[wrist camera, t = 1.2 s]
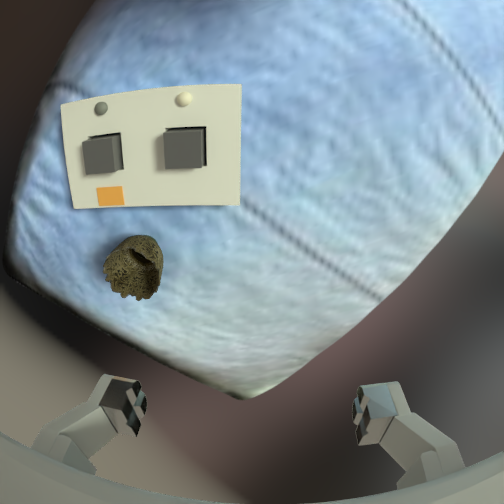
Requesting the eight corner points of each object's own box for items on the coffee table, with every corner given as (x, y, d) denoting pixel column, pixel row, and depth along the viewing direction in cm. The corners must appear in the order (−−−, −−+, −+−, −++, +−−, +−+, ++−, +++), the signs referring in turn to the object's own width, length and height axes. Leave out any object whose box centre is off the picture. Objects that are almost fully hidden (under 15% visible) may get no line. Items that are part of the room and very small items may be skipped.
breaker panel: (72, 102, 30) (58, 105, 27) (241, 84, 30) (241, 83, 28) (84, 200, 37) (72, 210, 34) (240, 196, 37) (239, 206, 35)
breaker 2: (170, 129, 31) (163, 133, 28) (204, 127, 31) (200, 131, 29) (171, 162, 33) (165, 169, 30) (205, 161, 33) (201, 168, 31)
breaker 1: (94, 137, 31) (81, 142, 28) (122, 133, 31) (111, 137, 28) (97, 167, 33) (85, 174, 30) (125, 165, 33) (115, 172, 30)
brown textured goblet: (176, 226, 39) (162, 257, 32) (170, 271, 43) (157, 306, 36) (124, 216, 38) (101, 244, 31) (123, 260, 42) (103, 293, 35)
